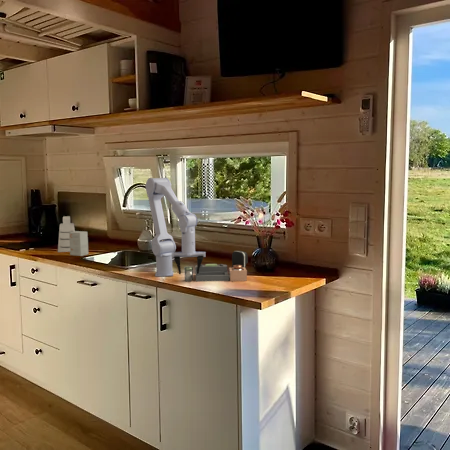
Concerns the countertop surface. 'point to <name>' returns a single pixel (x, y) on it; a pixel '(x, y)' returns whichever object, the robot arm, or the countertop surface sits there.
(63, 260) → the countertop surface
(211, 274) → the tester
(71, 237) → the small box
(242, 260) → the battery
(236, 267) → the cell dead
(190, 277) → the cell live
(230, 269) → the cup
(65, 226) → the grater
